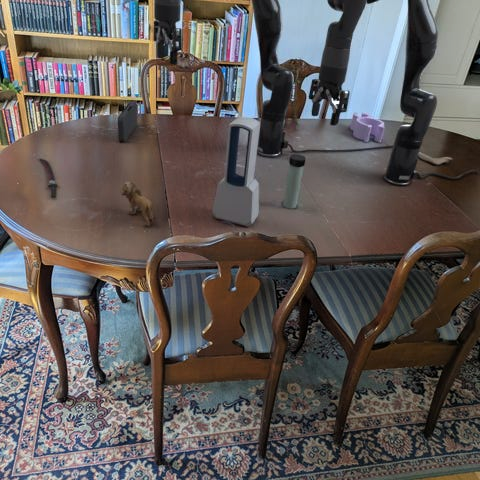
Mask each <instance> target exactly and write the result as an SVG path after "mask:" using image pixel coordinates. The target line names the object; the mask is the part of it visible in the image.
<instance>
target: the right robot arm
mask: <svg viewBox="0 0 480 480" xmlns="http://www.w3.org/2000/svg"><path fill="white" fill-rule="evenodd" d="M381 1H382V0H326V2H327V4H328V6H329V7H330V8H331V9H332V10H335V11H337V12H341V16H340V18H339V20H337V21H336V20H335V21H332V22H330V23H329V25H328V27H327V31H326V36H325V43H324V47H323V51H322V55H321V60H320V66H319V72H318V78H312V79H311V83H310V88H309V92H308V99H309V100H310V101H311V103H312V106H311V116H312V117H318V116H319V115H320V114H319V113H320V110H321V102H322V101H323V100H325V101H326V102H328V103H329V106H331V109H332V113H331V117H330V121H329V125H330V126H332V127H333V126H337V125H338V124H339V122H340V121H339V120H340V116H341V113H347V112H348V105H349V100H350V95H351V92H350V90H344V89H343V84H344V83H345V82H346V78H347V74H348V68H349V62H350V58H351V51H352V50H351V49H352V43H353V39H354V33H355V31H356V29H357V26H358V25H359V22H360V20H361V18H362V16H363V13H364V12H365V9H366V6H367V5H372V4H375V3H378V2H381ZM406 23H407V24H406V38H405V59H404V60H405V61H404V71H403V72H404V73H403V79H402V87H401V91H400V92H401V94H400V101H399V109H400V112H401V113H402V114H404V115H406V116H407V117H410V118H413V120H412V122H411V124H402V125H399V127H398V128H397V132H396V134H395V139H394V141H393V147H392V149H391V153H390V155H389V160H388V163H387V167H386V170H385V173H384V176H383V179H384V180H385V182H388V183H389V184H392V185H395V186H409V185H410V183H412V180H413V179H420V180H421V179H422V180H423V179H425V178H426V177H428V176H434V177H435V176H436V177H438V178H443V179H446V180H451V181H452V180H453V181H455V180H459V179H461V178H462V177H463V176H466V175H469V174H470V173H469V172H471V173H475V174H476V175H479V172H478V170H476V169H470V170H467V171H465V172H463V173H467V174H463V173H460V174H461V175H460V174H459V175H458V176H449V175H445V174H441V173H437V172H427V173H425V174H423V175H420V173H419V171H417V170H416V167H417V163H418V161H419V157H418V154H419V152H421V147H422V144H423V142H424V138H425V135H426V134H427V132H428V131H429V128H430V125H431V122H432V120H433V118H434V115H435V112H436V110H437V105H438V98H437V96H436V95H435V94H434V93H431V92H428V91H425V90H424V89H423V90H422V89H421V77H422V74H423V72H424V71H425V69H427V67H428V66H429V65H430V63H431V62H432V60H433V59H434V58H435V55H436V53H437V48H438V40H439V39H438V38H439V37H438V36H439V28H438V25H437V21H436V19H435V16H434V14H433V11H432V9H431V6H430V2H429V0H407V21H406ZM474 171H477V172H474ZM462 174H463V175H462Z"/></svg>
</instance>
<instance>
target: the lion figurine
mask: <svg viewBox="0 0 480 480" xmlns="http://www.w3.org/2000/svg"><path fill="white" fill-rule="evenodd" d="M119 193H120V194H121V196H122V197H124V196H125V198H126V199H127V200H128V202H129V203H130V207H131V211H130V212H129V213H130V215H135V214H136V211H137V212H141V214H142V216H143V218H144V219H145V223H144V225H145V227H149V226H150V221H152V223H153V225H155V226H159V222H156V221H155V219H154V217H153V216H154V215H153V204H152V202H151V200H150V199H148V198H146V197H145V196H144V195H143V194H142V192H141V190H140V187H138V185H136V184H135V183H133V182H132V181H125V182H124V186H122V188H121V189H119ZM136 207H137V208H136ZM148 214H149V216H148Z"/></svg>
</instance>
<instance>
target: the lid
mask: <svg viewBox="0 0 480 480" xmlns="http://www.w3.org/2000/svg"><path fill="white" fill-rule="evenodd" d="M306 160H307V159H306V156H305V155H302V154H300V153H292V154H290V156H289V161H288V163H289V166H290V165H292V166H295V167H303V168H304V167H305V165H306Z"/></svg>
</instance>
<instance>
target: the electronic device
mask: <svg viewBox="0 0 480 480" xmlns="http://www.w3.org/2000/svg"><path fill="white" fill-rule="evenodd" d="M260 122H261V121H259V120H257V119H255V118H252V117H249V116H240V117H236V118H235V119H233V121H232V122H230V123H229V124H228V127H227V129H228V130H227V142H226V153H225V166H224V167H225V168H224V177H223V178H222V179H221V180H220V181H219V182H218V184H217V186H216V191H215V196H214V201H213V205H212V209H211V210H212V211H211V212H212V215H213V217H215V219H217V220H221V221H225V222H229V223H233V224H237V225H241V226H245V227H250V226H251V225H253V223H254V222H255V221H256V219H257V218H258V216H259V207H260V205H259V203H260V183H259V182H258V181H257V179H256V178H255V169H256V162H257V154H258V153H257V146H258V139H259V131H260ZM241 129H243V130H244V131H247V142H246V143H247V144H246V153H245V162H244V171H243V175H241V174H238V173H237V162H238V152H239V143H240V142H239V141H240V131H241Z"/></svg>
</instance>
